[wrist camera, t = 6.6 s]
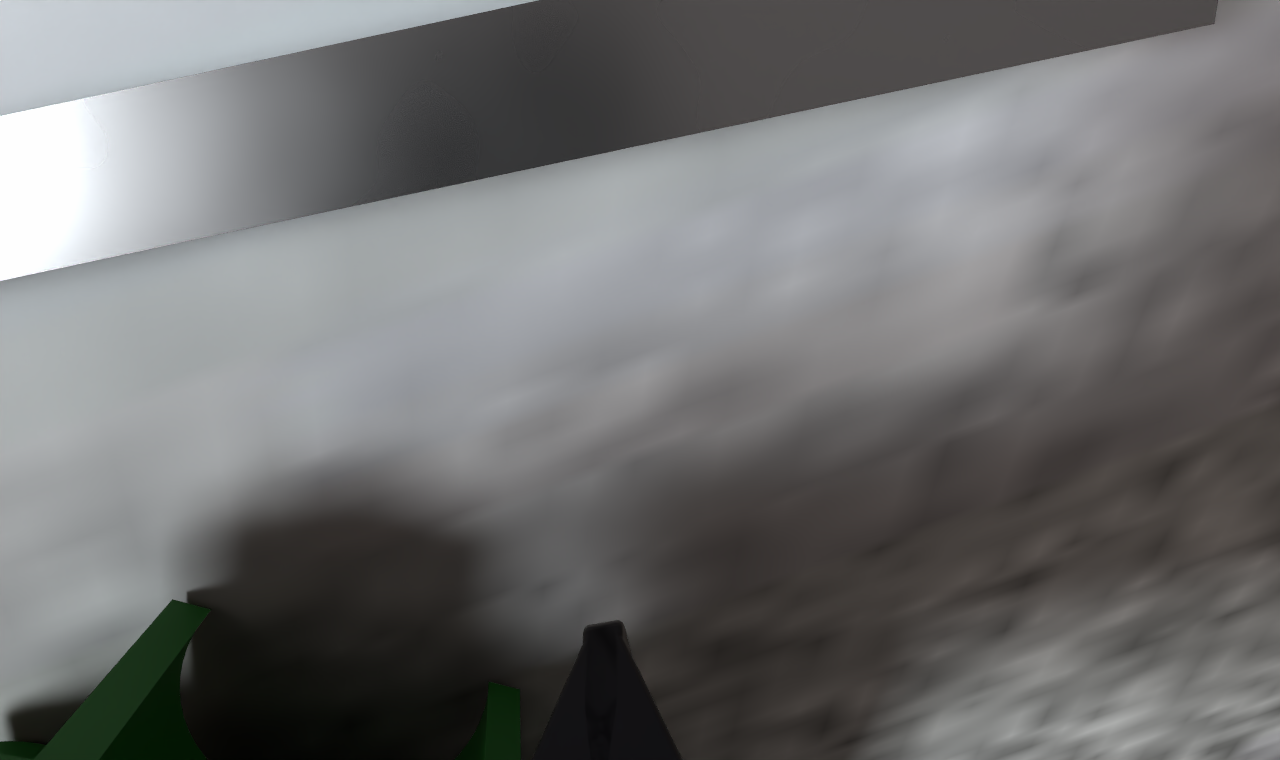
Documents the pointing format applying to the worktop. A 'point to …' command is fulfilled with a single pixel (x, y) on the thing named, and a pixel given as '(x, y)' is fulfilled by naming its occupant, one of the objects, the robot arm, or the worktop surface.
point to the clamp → (153, 718)
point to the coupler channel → (488, 105)
